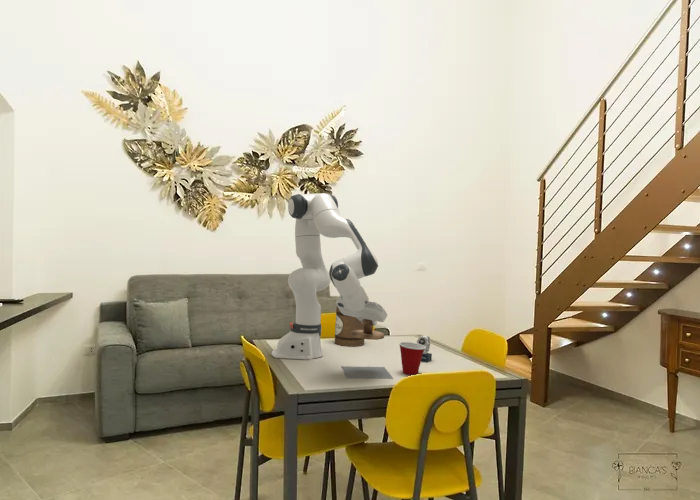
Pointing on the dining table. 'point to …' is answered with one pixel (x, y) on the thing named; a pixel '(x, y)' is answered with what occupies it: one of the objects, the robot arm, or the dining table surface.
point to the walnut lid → (367, 332)
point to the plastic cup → (411, 357)
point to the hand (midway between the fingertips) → (369, 323)
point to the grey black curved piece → (426, 342)
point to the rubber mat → (366, 372)
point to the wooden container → (347, 330)
